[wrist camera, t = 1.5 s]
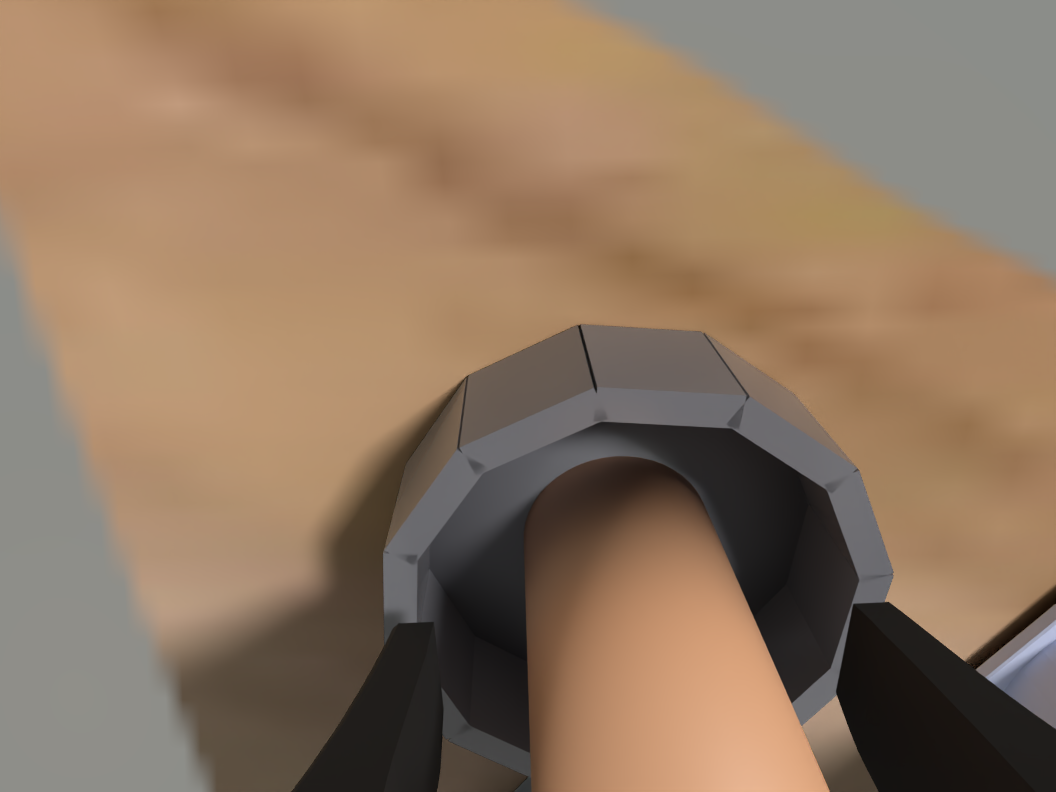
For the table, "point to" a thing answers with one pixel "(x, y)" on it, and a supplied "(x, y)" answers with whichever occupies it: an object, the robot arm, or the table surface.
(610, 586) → the dowel
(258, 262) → the table surface
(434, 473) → the grey round bowl
